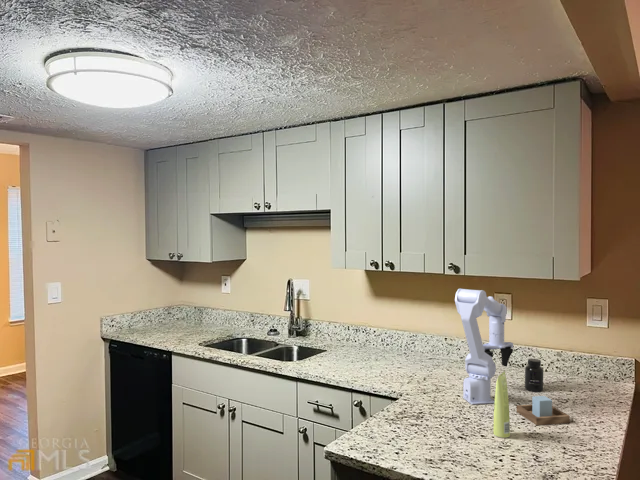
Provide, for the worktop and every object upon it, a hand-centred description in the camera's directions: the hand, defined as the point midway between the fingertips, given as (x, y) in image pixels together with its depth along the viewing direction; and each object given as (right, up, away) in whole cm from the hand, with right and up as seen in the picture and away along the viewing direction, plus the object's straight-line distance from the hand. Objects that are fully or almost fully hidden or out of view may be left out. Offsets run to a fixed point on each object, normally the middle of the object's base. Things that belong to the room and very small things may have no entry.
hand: (496, 366), depth 196 cm
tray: (+5, -10, -28) cm, 30 cm away
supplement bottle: (+15, -10, 0) cm, 18 cm away
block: (+5, -10, -28) cm, 30 cm away
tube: (-14, -11, -42) cm, 46 cm away
